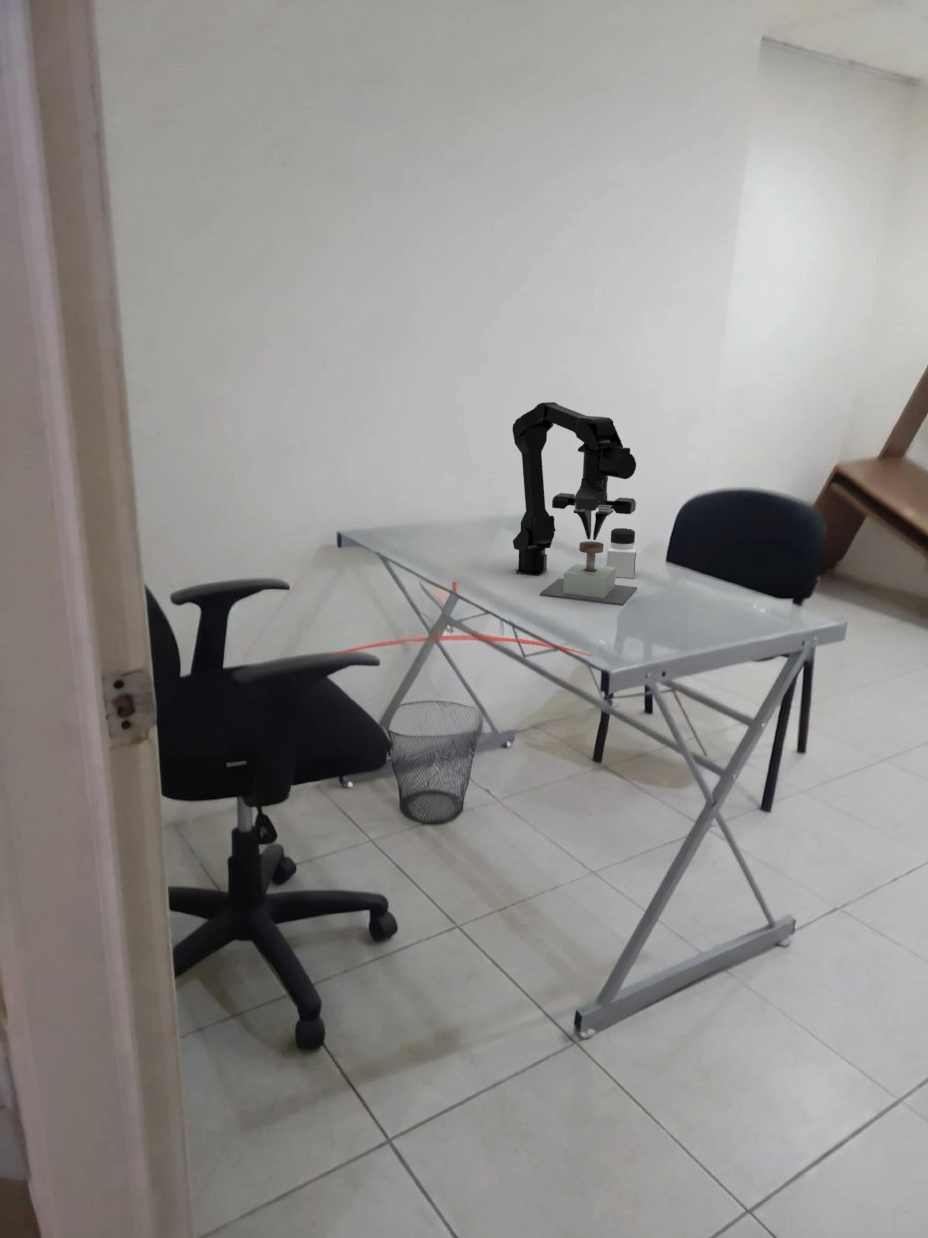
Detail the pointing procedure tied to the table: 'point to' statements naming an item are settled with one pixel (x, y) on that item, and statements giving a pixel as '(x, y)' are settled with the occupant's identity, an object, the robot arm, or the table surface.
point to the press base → (590, 586)
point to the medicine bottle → (622, 552)
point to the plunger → (591, 553)
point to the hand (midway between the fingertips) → (591, 539)
